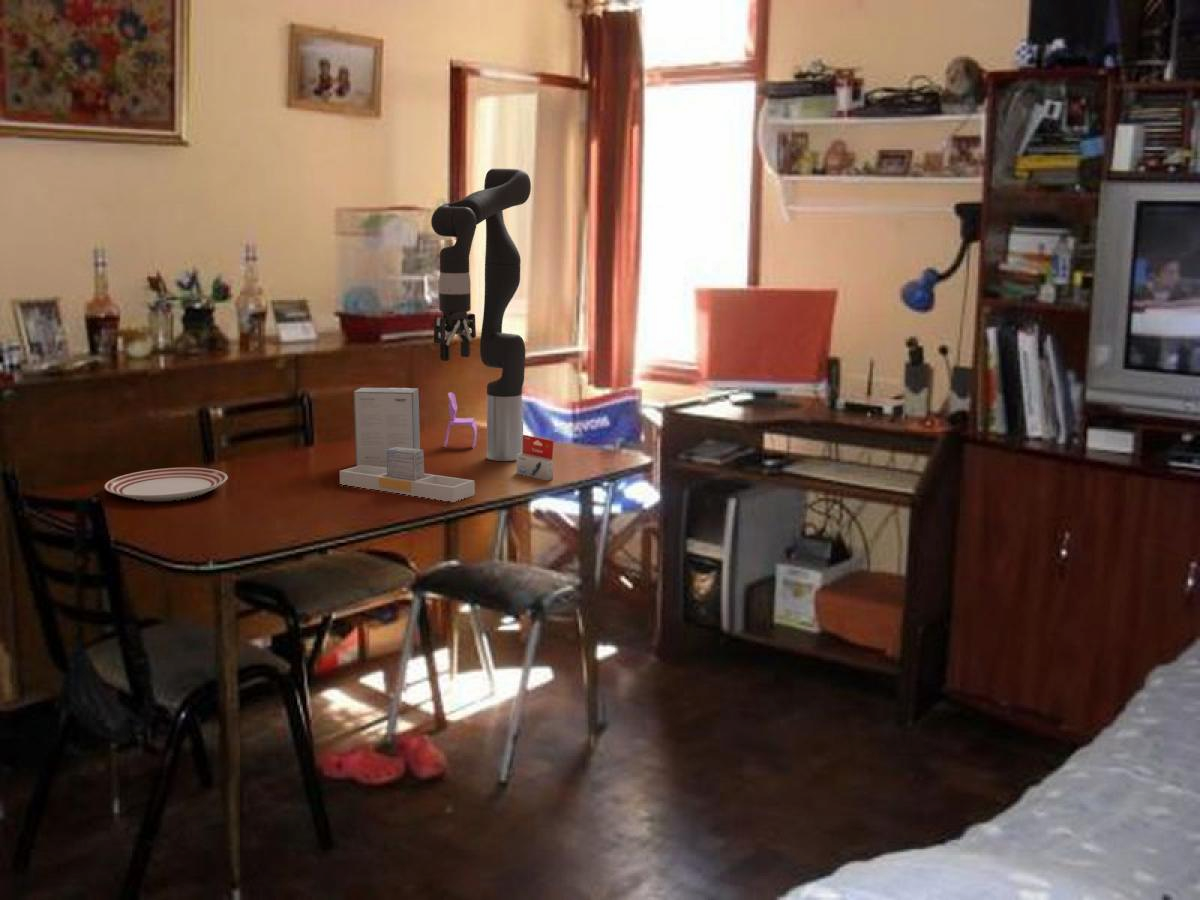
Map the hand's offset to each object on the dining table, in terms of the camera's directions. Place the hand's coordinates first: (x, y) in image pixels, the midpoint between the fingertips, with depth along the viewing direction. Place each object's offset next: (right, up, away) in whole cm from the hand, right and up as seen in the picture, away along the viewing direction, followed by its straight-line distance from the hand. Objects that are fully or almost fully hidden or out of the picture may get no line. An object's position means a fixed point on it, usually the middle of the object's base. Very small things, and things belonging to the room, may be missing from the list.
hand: (455, 358), depth 323 cm
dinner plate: (-66, -32, -10) cm, 74 cm away
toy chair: (-4, -21, +47) cm, 52 cm away
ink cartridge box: (+19, -29, +12) cm, 36 cm away
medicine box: (-11, -31, -5) cm, 33 cm away
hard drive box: (-19, -26, +21) cm, 39 cm away
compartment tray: (-11, -32, -5) cm, 34 cm away
